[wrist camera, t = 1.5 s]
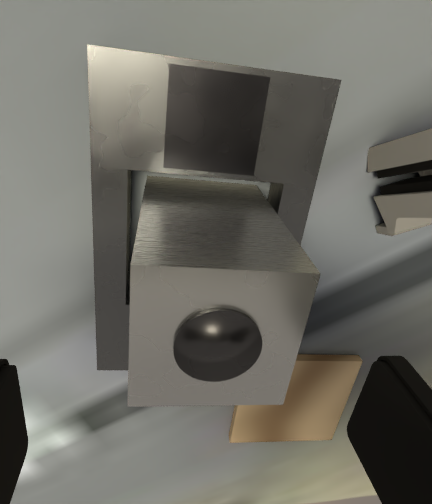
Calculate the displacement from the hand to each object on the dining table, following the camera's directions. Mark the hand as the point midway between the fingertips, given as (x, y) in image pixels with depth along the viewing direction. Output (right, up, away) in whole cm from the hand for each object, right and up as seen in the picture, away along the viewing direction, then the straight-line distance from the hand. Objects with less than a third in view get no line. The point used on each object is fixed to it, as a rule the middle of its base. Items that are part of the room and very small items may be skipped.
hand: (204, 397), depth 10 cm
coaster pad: (+6, -7, +17) cm, 19 cm away
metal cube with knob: (-1, +5, +10) cm, 11 cm away
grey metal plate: (-1, +5, +10) cm, 11 cm away
